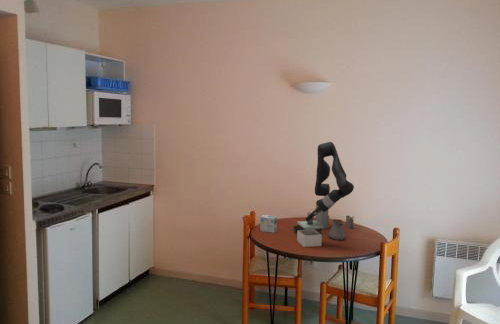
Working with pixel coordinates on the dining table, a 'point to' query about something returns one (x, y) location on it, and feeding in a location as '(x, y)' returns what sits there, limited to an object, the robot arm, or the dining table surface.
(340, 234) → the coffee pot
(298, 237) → the tub
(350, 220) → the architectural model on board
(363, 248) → the dining table surface
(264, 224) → the light bulb box
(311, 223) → the lid
